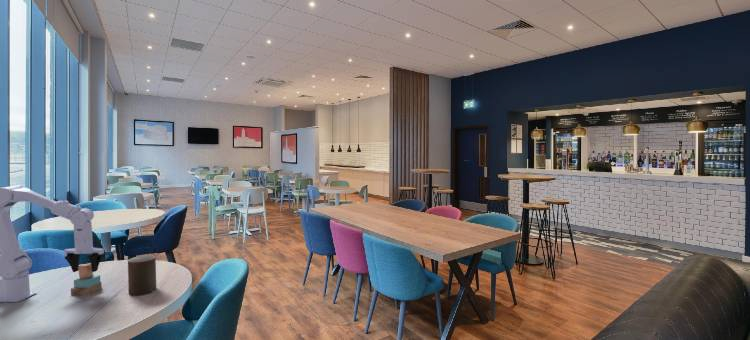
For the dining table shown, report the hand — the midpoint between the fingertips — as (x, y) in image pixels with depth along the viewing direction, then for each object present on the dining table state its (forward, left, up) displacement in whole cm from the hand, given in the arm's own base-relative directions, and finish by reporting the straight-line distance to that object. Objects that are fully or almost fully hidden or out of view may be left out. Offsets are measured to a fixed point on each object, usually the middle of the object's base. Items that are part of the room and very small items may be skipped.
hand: (85, 271), depth 147 cm
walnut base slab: (0, 0, -9) cm, 9 cm away
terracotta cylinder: (0, 0, -2) cm, 3 cm away
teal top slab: (+1, 0, -6) cm, 6 cm away
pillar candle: (+23, 0, -9) cm, 25 cm away
